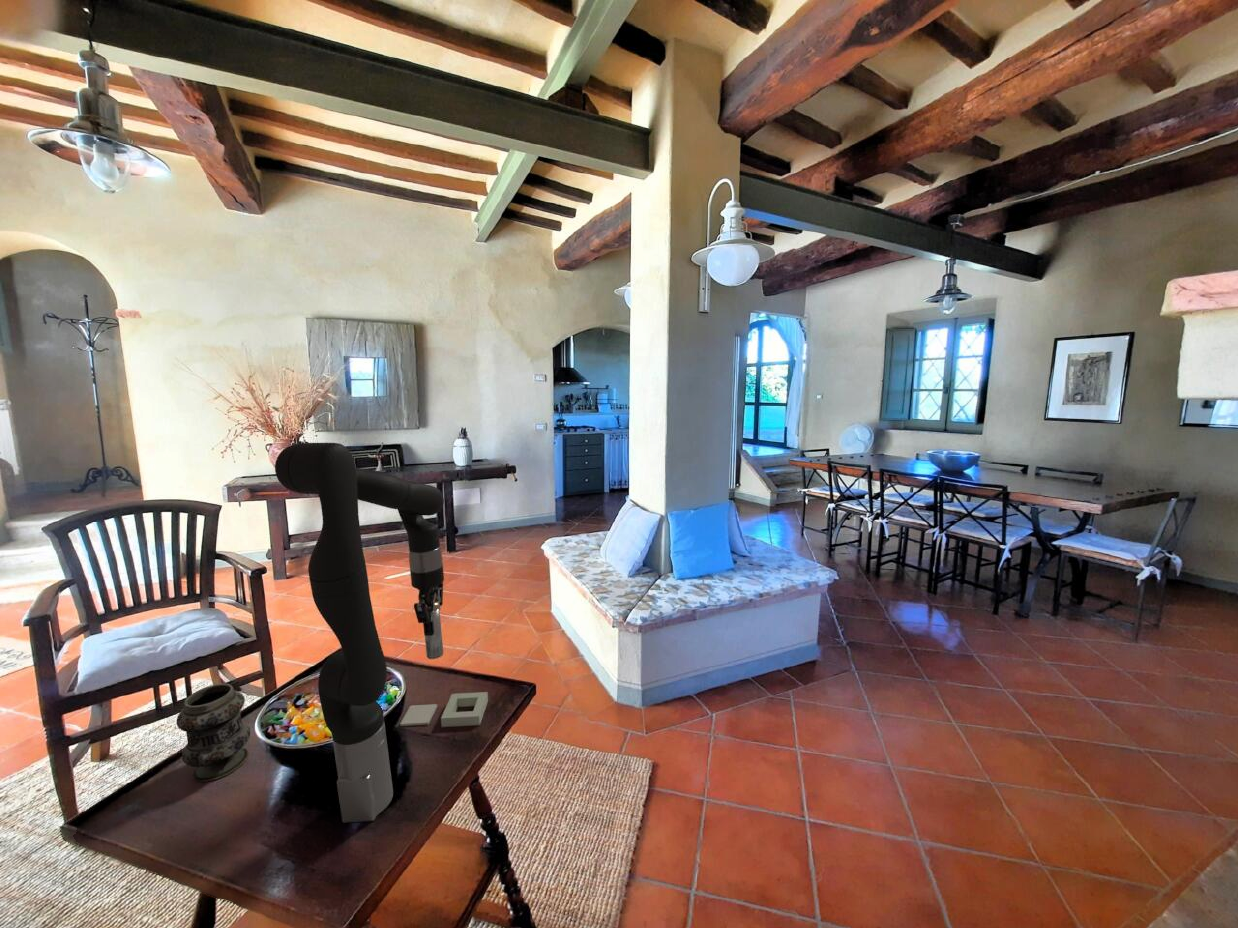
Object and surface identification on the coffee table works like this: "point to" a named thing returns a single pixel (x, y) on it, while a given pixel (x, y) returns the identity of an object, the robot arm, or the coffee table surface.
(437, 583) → the robot arm
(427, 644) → the steel pin
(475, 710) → the collar
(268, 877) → the coffee table surface
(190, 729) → the apothecary jar
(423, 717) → the felt pad
